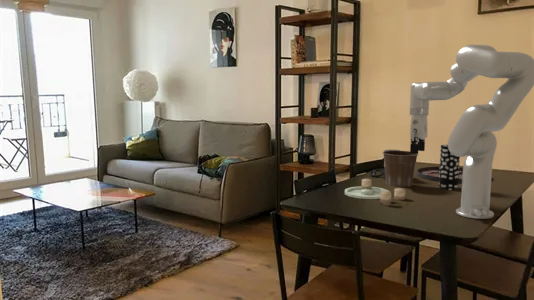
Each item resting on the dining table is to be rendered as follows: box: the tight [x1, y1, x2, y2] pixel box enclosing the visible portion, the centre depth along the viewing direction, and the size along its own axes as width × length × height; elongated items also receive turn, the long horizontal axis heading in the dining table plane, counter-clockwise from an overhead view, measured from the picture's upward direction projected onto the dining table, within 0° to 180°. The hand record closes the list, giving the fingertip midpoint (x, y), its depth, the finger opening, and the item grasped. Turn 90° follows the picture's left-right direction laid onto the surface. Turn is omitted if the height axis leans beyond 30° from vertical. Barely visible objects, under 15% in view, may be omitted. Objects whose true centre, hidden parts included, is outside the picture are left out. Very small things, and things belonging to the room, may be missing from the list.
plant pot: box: [382, 150, 419, 188], centre depth 208 cm, size 16×16×16 cm
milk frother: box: [369, 149, 402, 180], centre depth 227 cm, size 14×16×15 cm
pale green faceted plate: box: [344, 185, 389, 200], centre depth 189 cm, size 19×19×2 cm
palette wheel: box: [416, 166, 463, 184], centre depth 230 cm, size 35×35×3 cm
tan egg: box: [393, 187, 406, 201], centre depth 180 cm, size 4×4×5 cm
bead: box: [361, 178, 373, 190], centre depth 194 cm, size 4×4×5 cm
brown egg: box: [379, 190, 393, 206], centre depth 175 cm, size 4×4×5 cm
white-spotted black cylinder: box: [438, 144, 461, 191], centre depth 201 cm, size 8×8×20 cm
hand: (417, 152), depth 185 cm, fingers open, 9 cm apart
